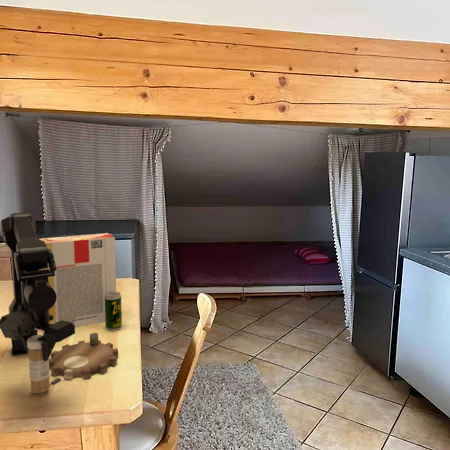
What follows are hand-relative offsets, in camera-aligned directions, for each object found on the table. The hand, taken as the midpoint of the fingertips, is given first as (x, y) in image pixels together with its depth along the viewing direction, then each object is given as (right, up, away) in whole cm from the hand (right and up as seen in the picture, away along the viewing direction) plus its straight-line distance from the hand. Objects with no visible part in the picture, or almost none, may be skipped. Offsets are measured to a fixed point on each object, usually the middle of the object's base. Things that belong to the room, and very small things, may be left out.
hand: (38, 358), depth 101 cm
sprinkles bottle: (0, -8, +1) cm, 8 cm away
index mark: (+2, -8, +6) cm, 10 cm away
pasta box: (-5, -2, +44) cm, 45 cm away
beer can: (+8, -3, +40) cm, 41 cm away
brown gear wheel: (+5, -6, +17) cm, 19 cm away
